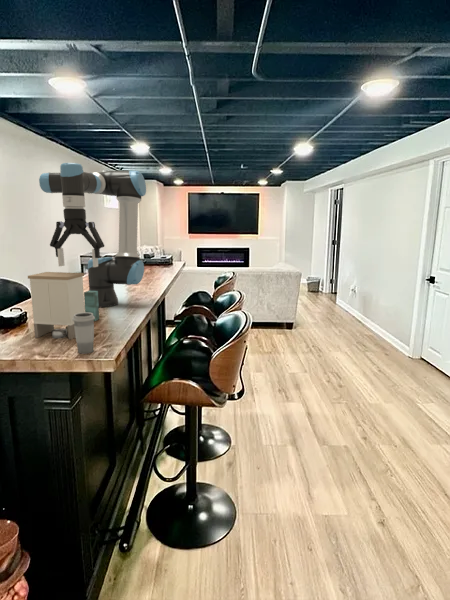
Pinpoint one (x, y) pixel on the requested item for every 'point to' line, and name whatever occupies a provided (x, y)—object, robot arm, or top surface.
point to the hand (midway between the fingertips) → (78, 266)
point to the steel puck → (59, 333)
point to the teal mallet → (91, 304)
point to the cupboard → (56, 300)
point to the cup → (84, 331)
